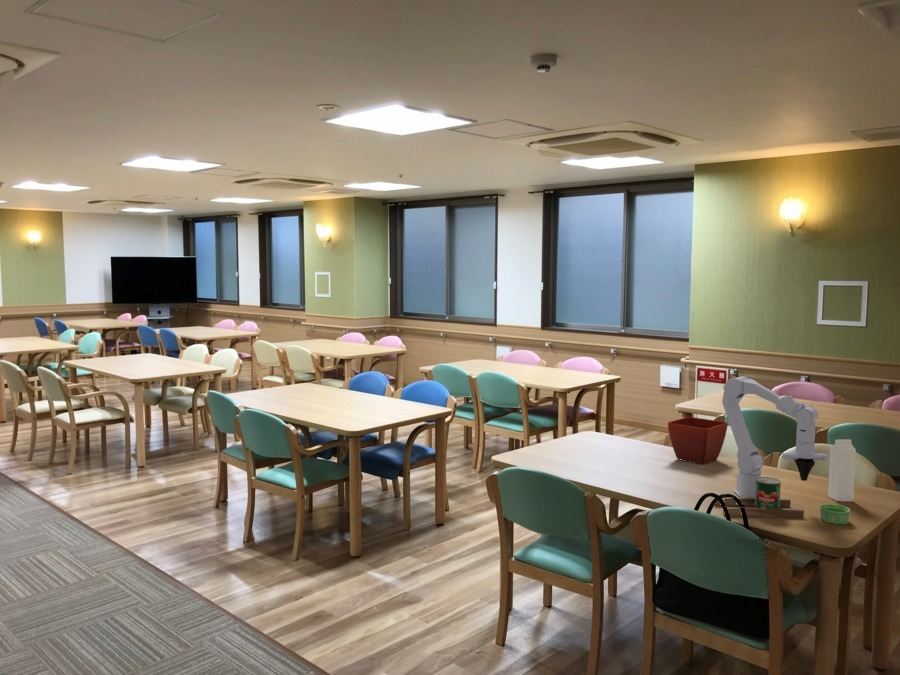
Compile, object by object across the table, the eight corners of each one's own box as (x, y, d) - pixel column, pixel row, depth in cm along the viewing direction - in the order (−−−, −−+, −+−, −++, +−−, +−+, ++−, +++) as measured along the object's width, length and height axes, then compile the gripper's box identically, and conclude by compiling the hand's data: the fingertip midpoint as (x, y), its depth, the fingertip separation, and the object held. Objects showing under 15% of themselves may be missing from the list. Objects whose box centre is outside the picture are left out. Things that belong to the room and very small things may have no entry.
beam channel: (713, 504, 256) (713, 496, 256) (788, 505, 254) (788, 497, 254) (724, 515, 243) (724, 507, 243) (803, 517, 242) (804, 509, 241)
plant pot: (665, 459, 318) (666, 421, 316) (687, 452, 330) (688, 416, 329) (705, 468, 303) (707, 428, 302) (727, 460, 316) (729, 422, 315)
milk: (853, 501, 259) (857, 441, 257) (837, 501, 259) (840, 441, 257) (843, 496, 265) (846, 437, 263) (827, 496, 265) (830, 437, 263)
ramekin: (837, 515, 244) (838, 503, 244) (856, 524, 235) (856, 511, 235) (813, 517, 243) (813, 504, 242) (831, 526, 234) (831, 513, 233)
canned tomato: (773, 507, 252) (774, 476, 251) (783, 515, 244) (785, 483, 243) (750, 507, 252) (751, 476, 251) (760, 515, 244) (761, 483, 243)
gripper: (788, 443, 247) (786, 482, 248) (832, 444, 246) (830, 483, 247) (780, 439, 254) (778, 476, 255) (822, 439, 253) (821, 477, 254)
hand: (803, 479), depth 251 cm, fingers closed
